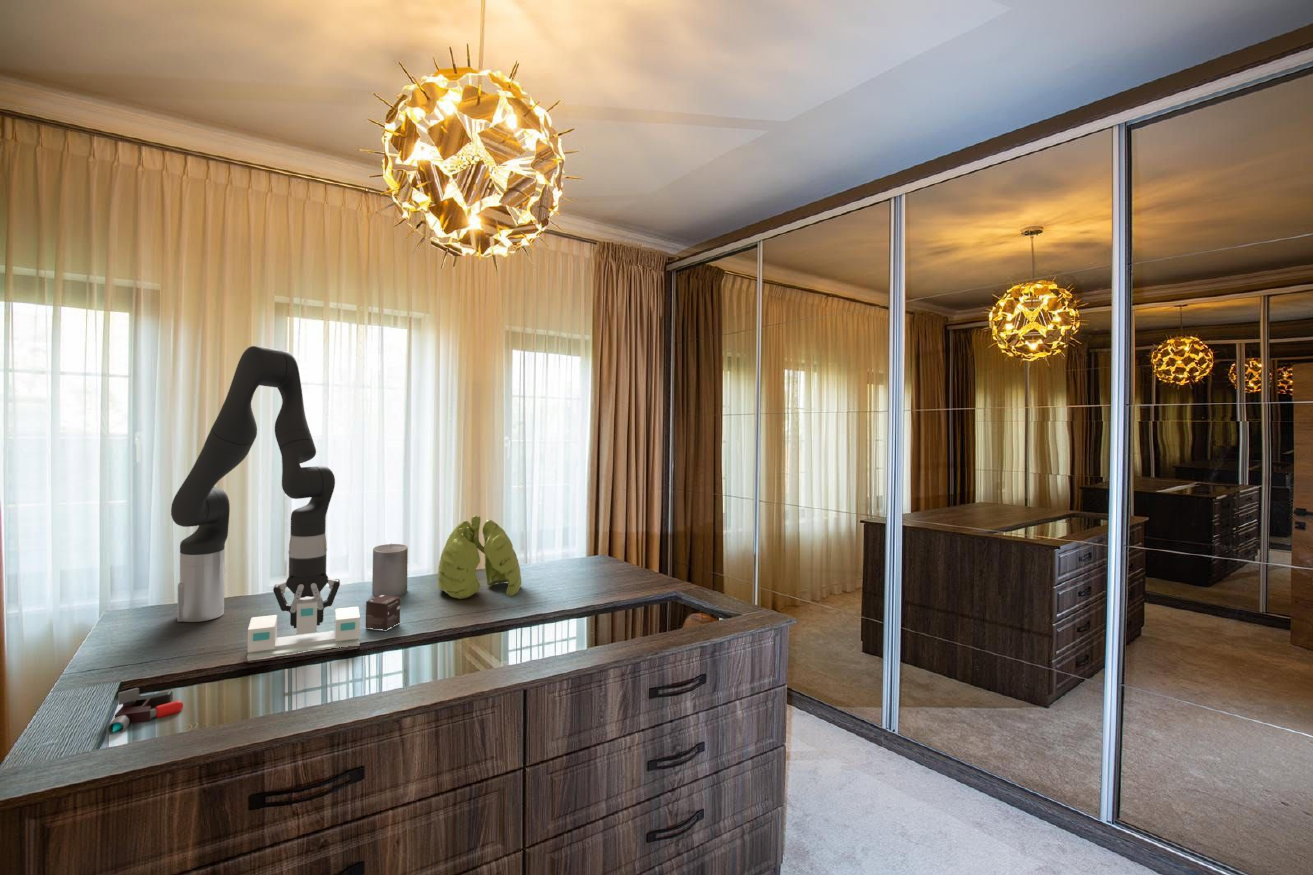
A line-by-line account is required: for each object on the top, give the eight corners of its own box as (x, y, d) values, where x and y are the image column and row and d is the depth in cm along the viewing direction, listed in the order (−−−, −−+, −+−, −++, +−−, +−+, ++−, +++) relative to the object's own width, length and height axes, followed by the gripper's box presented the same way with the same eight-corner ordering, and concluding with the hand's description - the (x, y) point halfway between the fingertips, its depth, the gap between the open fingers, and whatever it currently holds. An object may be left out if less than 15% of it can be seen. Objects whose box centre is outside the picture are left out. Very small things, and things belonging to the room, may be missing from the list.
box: (385, 632, 154) (386, 604, 154) (364, 629, 155) (365, 601, 155) (400, 624, 160) (401, 596, 160) (379, 621, 161) (380, 594, 161)
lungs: (437, 602, 178) (440, 520, 177) (436, 586, 192) (439, 510, 191) (524, 597, 187) (528, 518, 186) (517, 582, 201) (520, 509, 200)
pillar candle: (385, 586, 190) (386, 538, 189) (413, 589, 188) (414, 541, 187) (364, 596, 181) (365, 545, 179) (394, 599, 179) (394, 549, 177)
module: (296, 635, 139) (296, 604, 138) (297, 625, 144) (297, 596, 144) (316, 632, 140) (317, 602, 140) (316, 623, 146) (317, 594, 146)
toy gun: (100, 740, 103) (99, 713, 103) (128, 706, 114) (128, 681, 114) (170, 731, 107) (170, 704, 107) (191, 699, 118) (191, 674, 118)
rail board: (246, 664, 133) (247, 631, 133) (251, 646, 142) (252, 616, 141) (359, 649, 143) (360, 618, 143) (357, 634, 152) (358, 605, 152)
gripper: (342, 547, 148) (340, 616, 149) (272, 551, 141) (271, 624, 142) (343, 554, 141) (341, 627, 142) (270, 559, 135) (269, 636, 136)
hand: (306, 625), depth 142 cm, fingers closed on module, 4 cm apart
